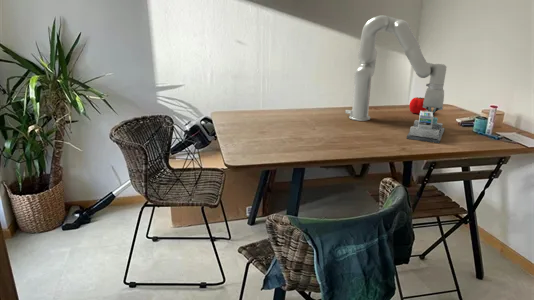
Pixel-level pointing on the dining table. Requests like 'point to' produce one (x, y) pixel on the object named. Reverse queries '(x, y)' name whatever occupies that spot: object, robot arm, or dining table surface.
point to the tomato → (417, 105)
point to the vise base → (425, 134)
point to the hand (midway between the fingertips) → (430, 118)
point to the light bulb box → (425, 119)
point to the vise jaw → (434, 125)
